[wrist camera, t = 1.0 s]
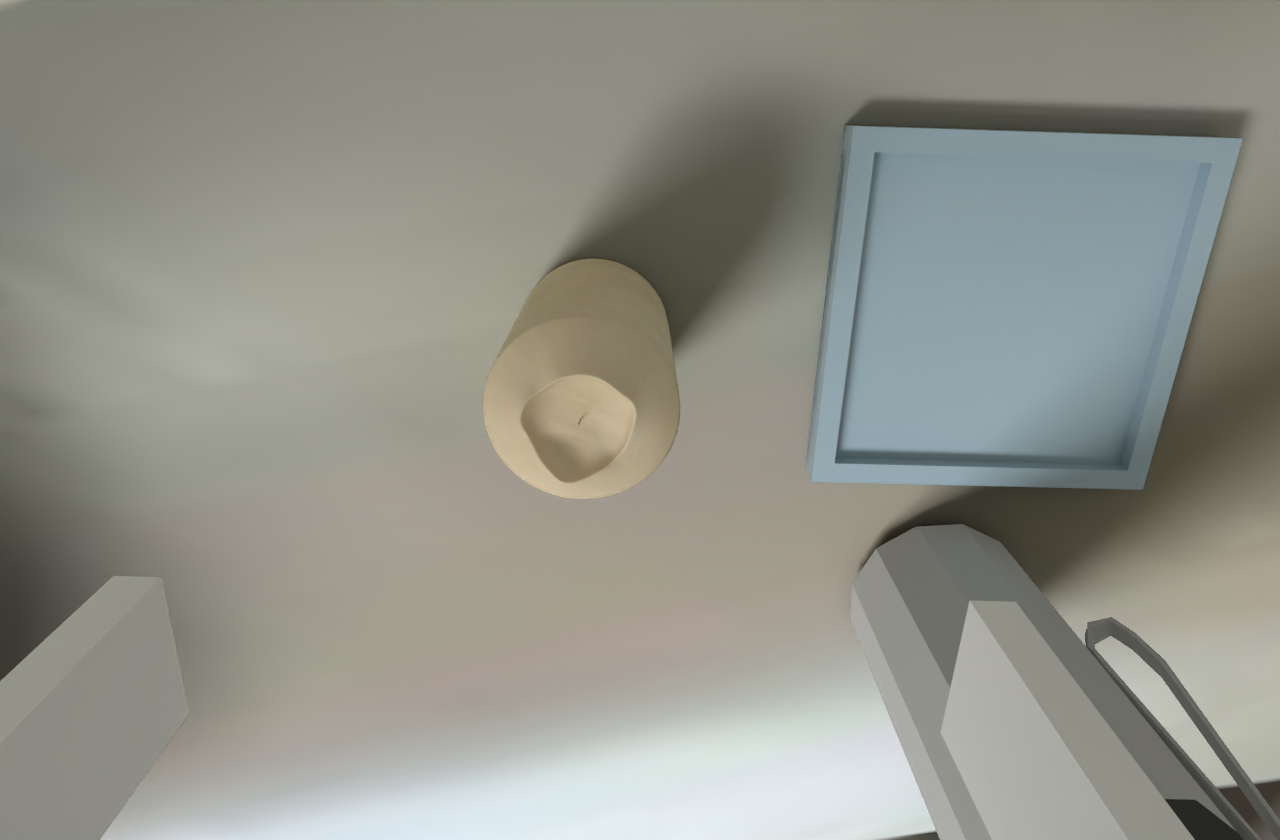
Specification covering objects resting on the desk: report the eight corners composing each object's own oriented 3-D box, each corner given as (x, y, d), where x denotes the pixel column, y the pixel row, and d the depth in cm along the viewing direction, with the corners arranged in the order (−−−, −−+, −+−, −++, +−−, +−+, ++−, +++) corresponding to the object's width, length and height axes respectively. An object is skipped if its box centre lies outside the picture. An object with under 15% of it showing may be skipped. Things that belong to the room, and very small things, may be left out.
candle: (638, 417, 32) (641, 548, 23) (503, 371, 31) (448, 488, 22) (690, 286, 30) (714, 371, 21) (547, 234, 30) (507, 299, 20)
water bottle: (864, 681, 37) (1253, 1675, 14) (822, 535, 34) (1221, 1472, 11) (1070, 626, 36) (1866, 1598, 13) (1044, 471, 33) (2001, 1353, 10)
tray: (805, 468, 33) (811, 481, 32) (845, 124, 28) (853, 126, 27) (1125, 476, 33) (1143, 489, 32) (1218, 137, 28) (1243, 138, 27)
